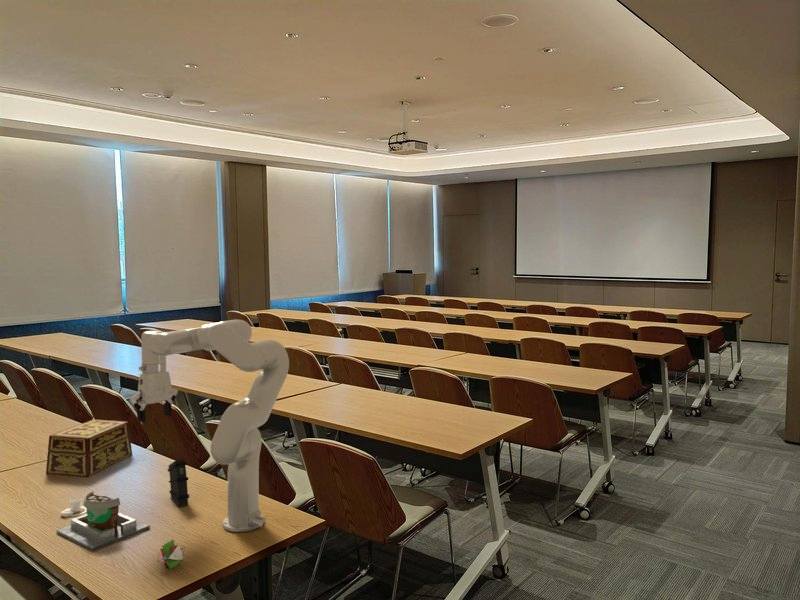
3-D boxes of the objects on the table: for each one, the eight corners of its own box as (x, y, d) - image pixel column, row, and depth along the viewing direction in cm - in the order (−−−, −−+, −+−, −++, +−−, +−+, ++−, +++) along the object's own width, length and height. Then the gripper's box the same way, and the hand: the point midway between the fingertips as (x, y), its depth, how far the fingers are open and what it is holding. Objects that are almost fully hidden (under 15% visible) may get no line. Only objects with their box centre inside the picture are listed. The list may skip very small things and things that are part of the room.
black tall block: (180, 506, 199) (174, 460, 203) (171, 510, 209) (166, 466, 213) (191, 503, 201) (186, 458, 205) (182, 507, 211) (176, 465, 216)
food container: (74, 530, 182) (74, 498, 181) (92, 522, 187) (92, 491, 187) (103, 538, 177) (102, 505, 176) (120, 529, 182) (120, 497, 182)
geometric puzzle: (147, 560, 162) (160, 540, 160) (165, 548, 168) (178, 530, 166) (164, 579, 160) (177, 560, 158) (181, 567, 167) (195, 548, 164)
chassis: (149, 528, 186) (149, 517, 185) (92, 551, 171) (92, 539, 170) (113, 513, 197) (113, 502, 196) (56, 533, 182) (56, 522, 181)
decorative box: (93, 452, 259) (93, 418, 258) (132, 455, 256) (132, 420, 255) (45, 474, 232) (44, 436, 231) (88, 477, 228) (87, 439, 228)
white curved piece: (63, 520, 191) (63, 508, 191) (55, 513, 197) (55, 501, 197) (92, 512, 198) (92, 500, 197) (84, 505, 203) (83, 493, 203)
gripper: (136, 373, 190) (137, 426, 191) (183, 365, 204) (183, 415, 205) (123, 370, 194) (124, 422, 195) (169, 363, 208) (170, 411, 209)
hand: (154, 418), depth 200 cm, fingers open, 9 cm apart
